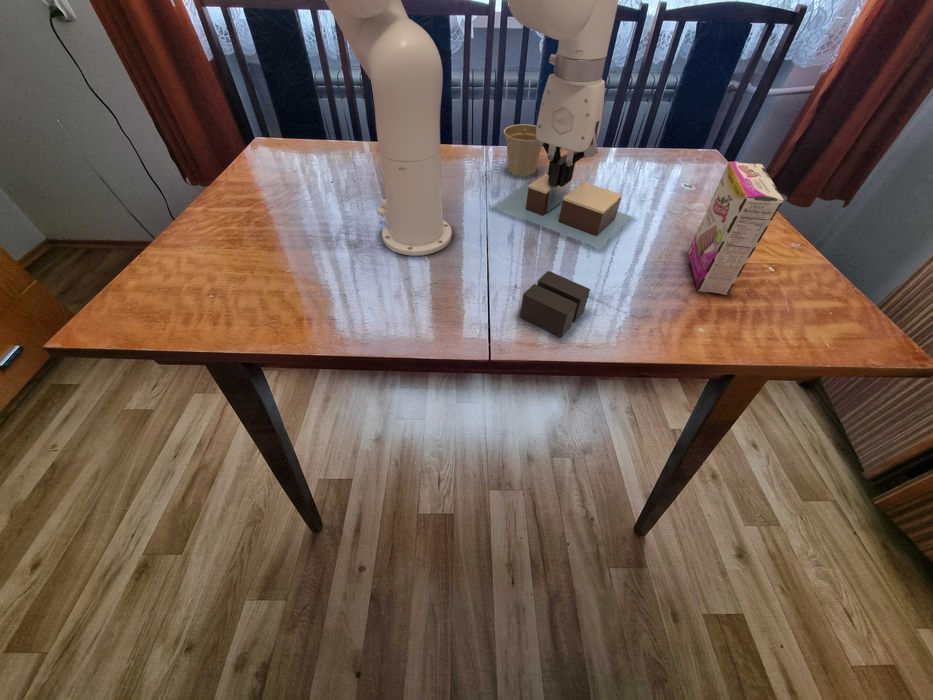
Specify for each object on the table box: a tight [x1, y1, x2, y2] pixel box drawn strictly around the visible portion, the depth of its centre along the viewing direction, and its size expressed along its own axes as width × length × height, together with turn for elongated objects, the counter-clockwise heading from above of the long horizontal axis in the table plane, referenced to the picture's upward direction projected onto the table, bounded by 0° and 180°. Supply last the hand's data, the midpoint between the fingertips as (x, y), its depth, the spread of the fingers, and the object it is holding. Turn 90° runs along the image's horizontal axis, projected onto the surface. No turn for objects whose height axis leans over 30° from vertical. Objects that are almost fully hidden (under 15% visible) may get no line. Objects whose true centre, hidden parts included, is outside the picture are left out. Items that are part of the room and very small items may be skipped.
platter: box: [493, 181, 632, 249], centre depth 83 cm, size 23×14×1 cm, turn 52°
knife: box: [546, 154, 567, 212], centre depth 79 cm, size 6×2×9 cm, turn 142°
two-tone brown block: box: [526, 172, 567, 216], centre depth 82 cm, size 4×8×5 cm, turn 142°
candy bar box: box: [687, 161, 785, 296], centre depth 64 cm, size 11×5×16 cm, turn 168°
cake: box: [559, 181, 623, 236], centre depth 78 cm, size 8×8×5 cm
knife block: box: [519, 270, 591, 339], centre depth 61 cm, size 7×7×4 cm
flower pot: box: [503, 123, 543, 177], centre depth 92 cm, size 9×9×9 cm
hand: (558, 181), depth 79 cm, fingers closed on knife, 1 cm apart
